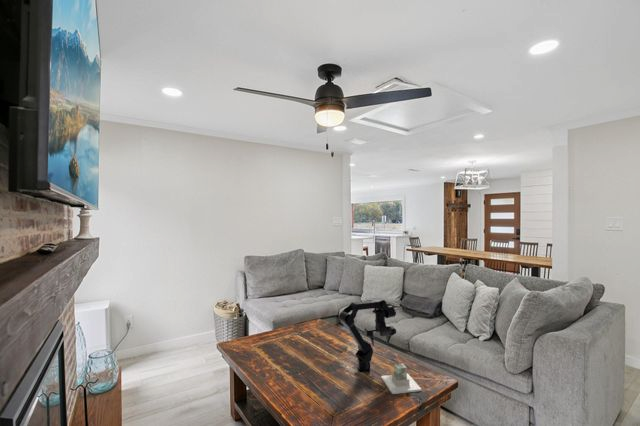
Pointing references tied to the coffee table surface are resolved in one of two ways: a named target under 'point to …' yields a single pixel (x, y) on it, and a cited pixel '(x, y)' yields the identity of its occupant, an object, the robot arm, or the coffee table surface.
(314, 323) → the coffee table surface
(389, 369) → the coffee table surface
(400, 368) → the sage block
